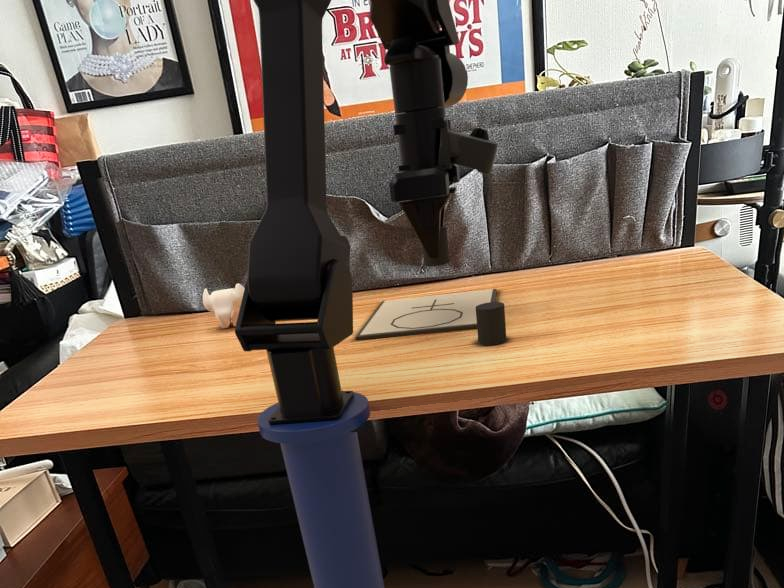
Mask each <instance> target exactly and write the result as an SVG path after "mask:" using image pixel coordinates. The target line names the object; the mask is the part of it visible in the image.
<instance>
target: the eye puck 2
mask: <svg viewBox="0 0 784 588" xmlns="http://www.w3.org/2000/svg"><path fill="white" fill-rule="evenodd" d="M505 308H506V307H505V303H504V302H500V301H495V302H489V303H484V304H480V305H478V306H476V320H477V328H476V330H477V331H476V332H477V342H478V344H479V345H480V346H496V345H500V344H503V343H505V342H506V341H507V325H506V324H507V323H506V311H505V310H506V309H505Z"/></svg>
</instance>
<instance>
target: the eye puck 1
mask: <svg viewBox="0 0 784 588" xmlns="http://www.w3.org/2000/svg"><path fill="white" fill-rule="evenodd" d="M421 249H422V258H423V265H424V267H438V266H444V265H447V264H449V263H450V250H449V241H448V232H447V227H445V226H444V227H440V239H439V254H438V257H437V258H429V257H428V255H427V253H426V251H425V249H424V247H423V245H422V244H421Z"/></svg>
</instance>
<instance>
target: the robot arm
mask: <svg viewBox="0 0 784 588" xmlns="http://www.w3.org/2000/svg"><path fill="white" fill-rule="evenodd" d="M253 2H254V4H255V6H256V7H257V9H258V17H259V18H258V20H259V39H260V40H259V41H260V61H261V62H260V65H261V67H260V68H261V69H260V70H261V88H262V89H261V92H262V114H263V115H262V116H263V136H264V137H263V138H264V139H263V140H264V141H263V143H264V163H265V188H266V189H265V190H266V209H265V211H264V212H263V214H262V216H261V219H260V221H259V223H258V225H257V227H256V228H255V230H254V232H253V234H252V236H251V239H249V245H248V263H247V278H246V281H245V285H244V288H245V289H244V294H243V298H242V302H241V306H240V310H239V314H238V318H237V323H236V327H235V326H234V334H235V336H236V338H237V340H238V343H239V344H240V346H241V348H242V350H243V352H252V351H266V355H267V359H268V364H269V368H270V372H271V376H272V382H273V385H274V390H275V394H276V398H277V403H279V407H278V408H277V409H276V411H275V412H274V413H273V414H272V415H271V417H270V418H269V419H268V422H269V425H283V424H296V423H309V422H322V421H335V420H339V419H340V418H341V417H342V415H343V414H344V412H345V410H346V409H347V407H348V405H349V404H350V402H351V400H352V399H353V397H354V392H355V391H353V390H342V386H341V381H340V375H339V369H338V364H337V359H336V354H335V353H336V352H335V347H336V346H337V345H339V344H340V343H342V342H344V341H345V340H346V339H347V338H349V337H351V336H352V335H353V334H354V295H353V293H354V292H353V291H354V290H353V289H354V288H353V287H354V285H353V277H352V272H351V244H350V241H349V240H348V237H347V236H346V235H341V233H340V231H339V230H338V228H337V227H336V225H335V223H334V222H333V220H332V218H331V217H330V215H329V213H328V206H327V205H328V204H327V170H326V167H327V165H326V132H325V131H326V127H325V126H326V124H325V90H324V87H325V86H324V51H323V19H324V16H325V14H326V12H327V11H328V8H329V6H330V4H331V2H332V0H253ZM451 8H452V7H451V4H450V1H449V0H369V20H370V22H371V24H372V25H373V28H374V30H375V31H376V33H377V35H378V38H379V40H380V43H381V44H382V46H383V48H384V50H385V51H386V52H385V55H384V58H383V61H384V64H385V65H386V66H389V75H390V83H391V93H392V100H393V107H394V109H393V110H394V114H395V124H393V134H394V136H397V139H398V141H397V142H398V149H399V157H400V165H398V172H396V173H395V174H394V176H393V177H392V179H391V180H390V182H389V183H388V187H389V194H390V201H391V203H398V205H399V207H401V209H402V211H403V213H404V214H405V216H406V218H407V219H408V222H409V223H410V225H411V227H412V229H413V230H414V232H415V234H416V236H417V237H418V240H419V242H420V243H421V246H422V245H423V247H424V249H425V251H426V253H427V255H428V257H429V258H437V257H438V254H439V239H440V227H445V217H446V216H445V215H446V206H447V204H448V202H449V201H450V199H451V198H452V197H453V195H454V194H455V193H456V191H457V189H458V187H457V186H453V187H450V183H453V184H457V183H460V181H461V174H460V166H461V167H466V168H469V169H473V170H476V171H477V173H481V174H485V175H491V173H492V172H493V167H494V164H495V158H496V155H497V151H498V148H499V142H496V141H494V140H490V135H489V130H488V129H485V128H482V127H478V126H476V127H474V128H473V130H472V131H471V133H470V134H466V133H461V132H457V131H453V130H452V121H451V119H449V117H448V116H447V114H446V108H451V107H453V106H456V105H457V104H458V103H459V102H460V101H461V100H462V99H463V97H464V95H465V94H466V92H467V89H468V81H469V77H468V76H469V75H468V71H467V69H466V66H465V64H464V63H463V61H462V60H461V59H460V58H459V56H457V55H456V54H454V53H451V49H450V48H451V47H450V46H455V45H459V42H460V41H459V39H460V38H459V34H458V31H457V27H456V24H455V19H454V17H453V12H452V9H451ZM313 320H316V321H313ZM292 321H295V322H292ZM296 321H304V322H296ZM305 321H306V322H305ZM277 322H282V323H277ZM283 322H284V323H283Z"/></svg>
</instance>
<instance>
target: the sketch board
mask: <svg viewBox="0 0 784 588" xmlns="http://www.w3.org/2000/svg"><path fill="white" fill-rule="evenodd" d="M497 292H498V289H497V288H490V289H480V290H470V291H462V292H453V293H443V294H435V295H425V296H415V297H406V298H397V299H388V300H382V301H381V302H380V304H379V305H378V306H377V308H376V309H375V310H374V311H373V313H372V314H371V316H370V317H369V318H368V320H367V321H366V322H365V323H364V324H363V326H362V328H361V329H360V330H359V331H358V333H357V334H356V335H355V341H361V340H371V339H381V338H391V337H402V336H413V335H421V334H431V333H434V334H435V333H440V332H441V333H443V332H452V331H461V330H462V331H463V330H473V329H477V320H476V306H478V305H480V304H484V303H489V302H496V298H497Z"/></svg>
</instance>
